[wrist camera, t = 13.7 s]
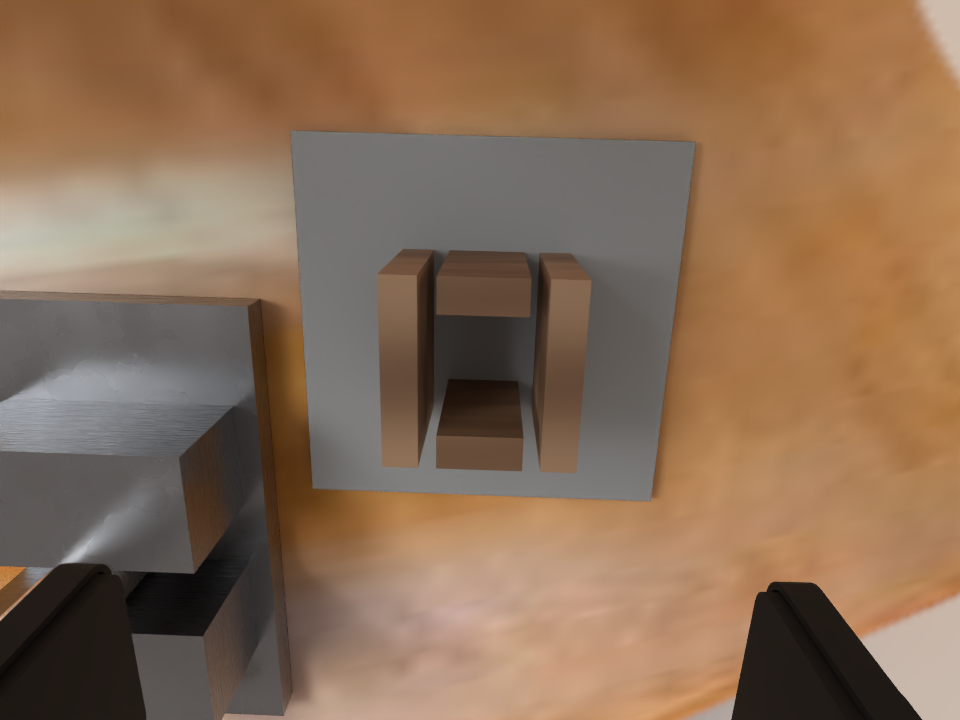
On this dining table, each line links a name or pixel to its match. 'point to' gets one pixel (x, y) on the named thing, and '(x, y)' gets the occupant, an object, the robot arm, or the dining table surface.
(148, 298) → the vise
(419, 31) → the dining table surface
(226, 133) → the dining table surface
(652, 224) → the mat
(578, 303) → the collar
